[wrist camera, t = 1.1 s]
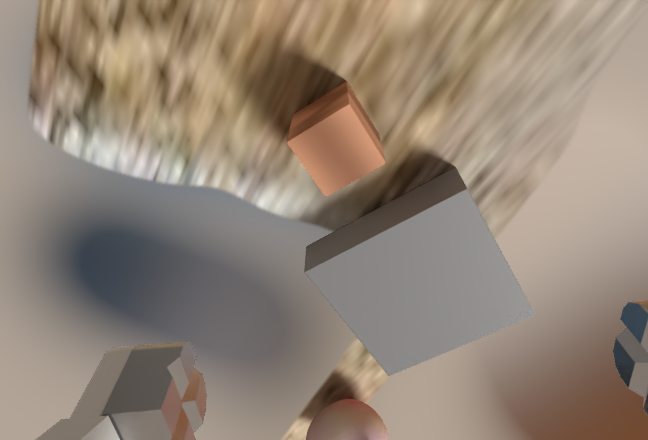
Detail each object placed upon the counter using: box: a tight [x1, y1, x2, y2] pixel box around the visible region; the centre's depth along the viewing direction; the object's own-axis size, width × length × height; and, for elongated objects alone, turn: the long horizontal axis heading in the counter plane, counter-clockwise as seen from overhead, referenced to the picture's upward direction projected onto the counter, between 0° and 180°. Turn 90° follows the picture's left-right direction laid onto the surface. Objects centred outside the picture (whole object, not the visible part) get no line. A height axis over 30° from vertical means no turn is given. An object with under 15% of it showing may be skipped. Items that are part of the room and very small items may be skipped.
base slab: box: [304, 167, 536, 376], centre depth 43 cm, size 15×15×4 cm
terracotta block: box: [287, 81, 386, 197], centre depth 36 cm, size 5×5×6 cm
